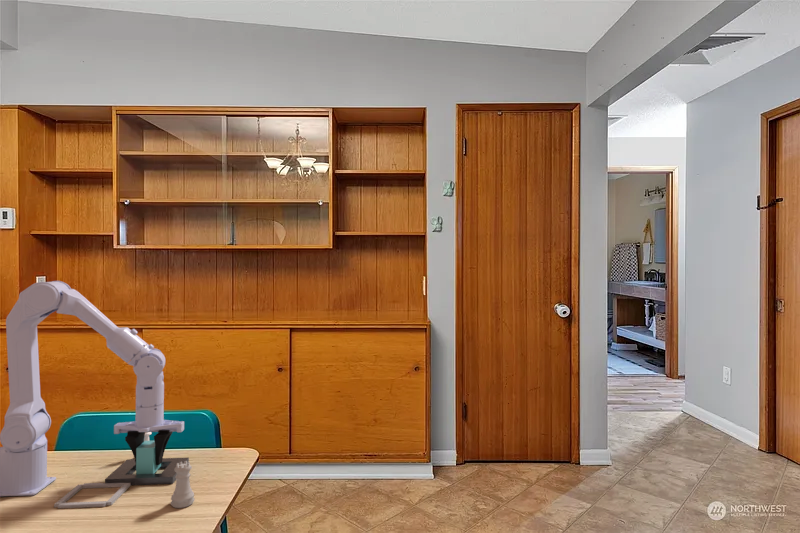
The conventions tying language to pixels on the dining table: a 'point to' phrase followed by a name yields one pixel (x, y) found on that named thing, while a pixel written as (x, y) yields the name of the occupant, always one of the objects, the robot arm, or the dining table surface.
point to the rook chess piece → (182, 486)
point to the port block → (129, 467)
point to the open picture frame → (62, 501)
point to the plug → (146, 458)
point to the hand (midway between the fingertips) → (149, 463)
